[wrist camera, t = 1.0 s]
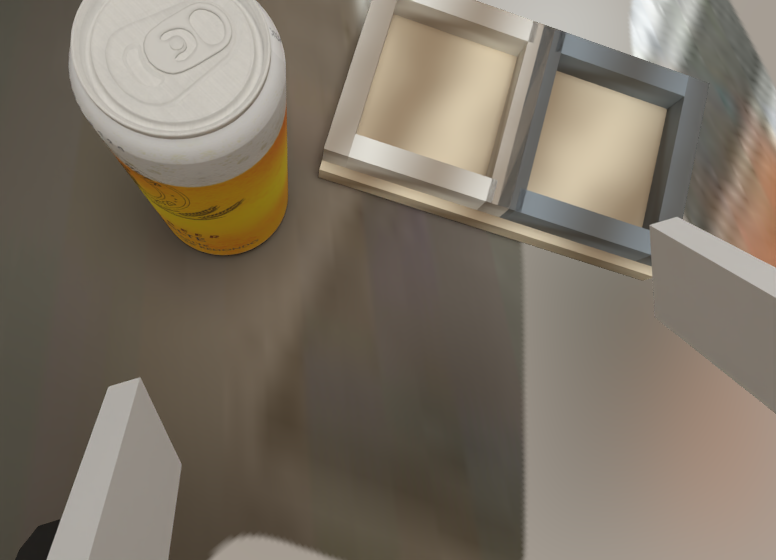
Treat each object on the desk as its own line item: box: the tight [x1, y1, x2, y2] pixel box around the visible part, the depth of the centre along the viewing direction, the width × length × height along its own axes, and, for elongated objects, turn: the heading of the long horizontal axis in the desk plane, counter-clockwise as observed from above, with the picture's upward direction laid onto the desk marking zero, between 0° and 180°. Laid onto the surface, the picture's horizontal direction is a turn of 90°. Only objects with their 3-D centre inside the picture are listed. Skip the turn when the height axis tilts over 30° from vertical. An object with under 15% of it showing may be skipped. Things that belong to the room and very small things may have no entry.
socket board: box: [318, 0, 710, 281], centre depth 34 cm, size 18×11×3 cm, turn 74°
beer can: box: [68, 0, 288, 255], centre depth 25 cm, size 6×6×15 cm
